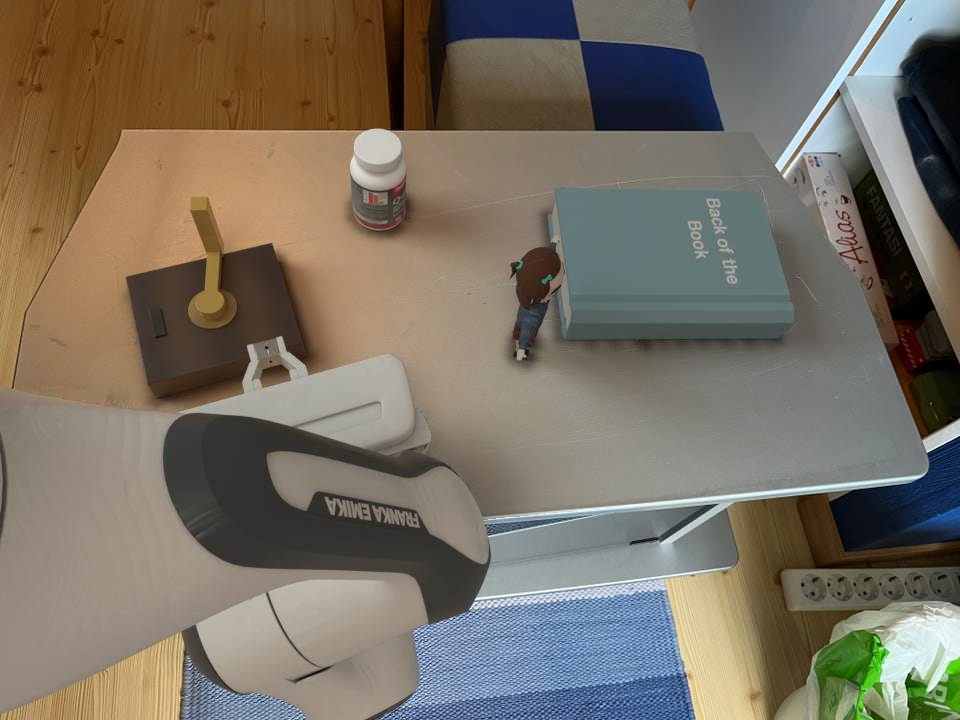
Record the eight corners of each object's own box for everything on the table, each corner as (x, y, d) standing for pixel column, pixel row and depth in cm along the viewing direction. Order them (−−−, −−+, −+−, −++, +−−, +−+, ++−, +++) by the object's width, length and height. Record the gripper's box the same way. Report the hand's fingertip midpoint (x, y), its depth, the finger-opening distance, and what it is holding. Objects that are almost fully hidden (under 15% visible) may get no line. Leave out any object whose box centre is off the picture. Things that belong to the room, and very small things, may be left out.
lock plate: (156, 398, 68) (146, 383, 66) (134, 293, 73) (124, 275, 70) (306, 357, 72) (302, 341, 69) (276, 259, 77) (271, 241, 74)
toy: (520, 412, 71) (548, 336, 58) (473, 398, 72) (491, 318, 58) (553, 297, 78) (586, 204, 65) (510, 284, 78) (534, 189, 65)
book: (740, 220, 86) (759, 191, 81) (774, 342, 78) (797, 318, 74) (547, 217, 83) (555, 187, 78) (563, 343, 75) (574, 318, 71)
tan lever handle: (226, 319, 69) (209, 275, 63) (197, 320, 69) (177, 276, 63) (230, 244, 73) (214, 196, 67) (202, 245, 73) (184, 196, 66)
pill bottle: (405, 234, 80) (406, 170, 71) (351, 231, 79) (346, 167, 71) (406, 192, 83) (407, 126, 74) (354, 189, 82) (349, 122, 73)
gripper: (442, 440, 56) (386, 291, 61) (159, 530, 51) (125, 358, 56) (437, 468, 61) (386, 329, 67) (182, 552, 56) (149, 394, 62)
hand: (265, 343), depth 61 cm, fingers closed
